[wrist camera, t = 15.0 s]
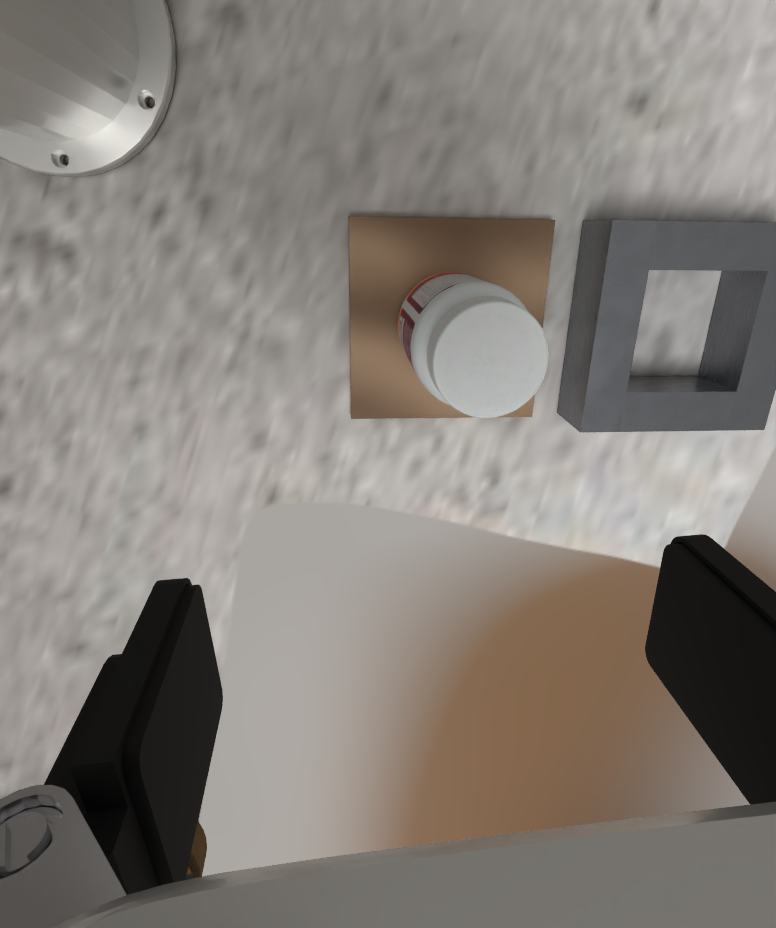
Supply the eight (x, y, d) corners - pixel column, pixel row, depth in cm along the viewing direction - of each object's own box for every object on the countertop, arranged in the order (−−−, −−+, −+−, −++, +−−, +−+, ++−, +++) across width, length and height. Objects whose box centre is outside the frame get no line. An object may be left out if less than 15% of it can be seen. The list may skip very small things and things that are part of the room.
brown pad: (348, 216, 33) (348, 216, 32) (550, 220, 34) (555, 219, 33) (350, 414, 37) (351, 418, 36) (528, 413, 38) (532, 416, 37)
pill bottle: (461, 389, 36) (509, 454, 26) (378, 342, 35) (394, 391, 24) (514, 303, 35) (590, 335, 24) (429, 250, 33) (471, 260, 23)
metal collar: (582, 220, 34) (612, 219, 30) (771, 224, 35) (822, 223, 31) (556, 412, 38) (580, 432, 35) (724, 411, 39) (764, 429, 36)
